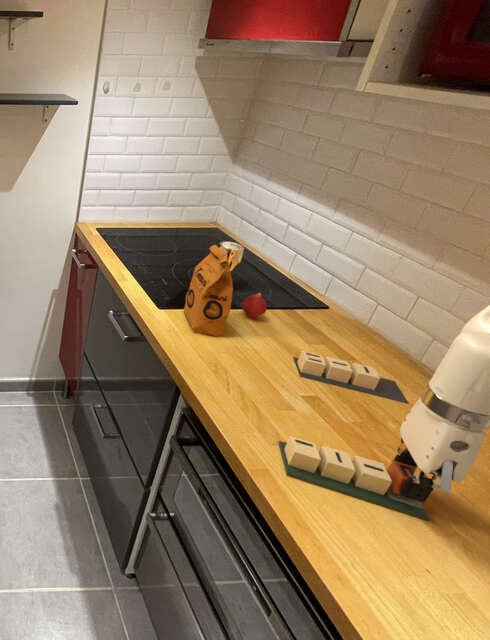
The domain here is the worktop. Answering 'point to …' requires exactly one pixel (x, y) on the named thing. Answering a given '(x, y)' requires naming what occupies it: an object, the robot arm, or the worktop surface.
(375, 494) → the word board
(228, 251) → the beer glass
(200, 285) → the coffee package
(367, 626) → the worktop surface
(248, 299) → the onion
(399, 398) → the word board
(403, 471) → the orange cube
